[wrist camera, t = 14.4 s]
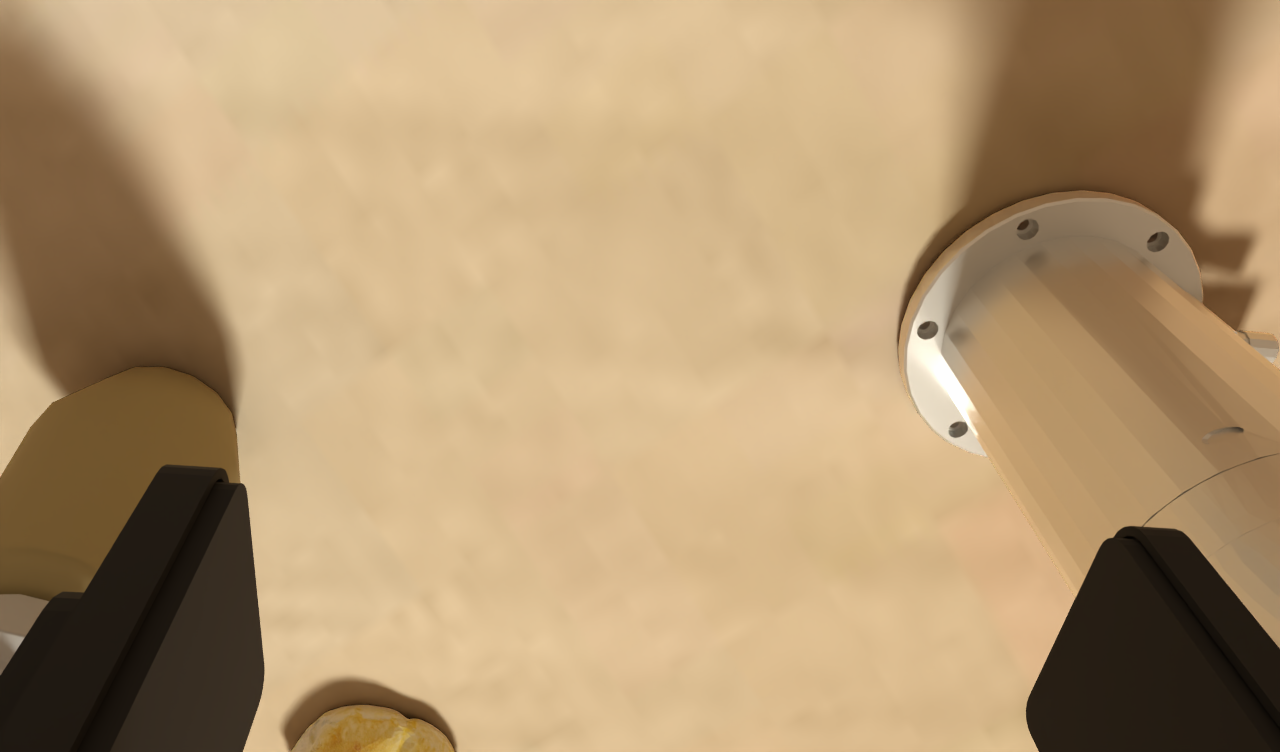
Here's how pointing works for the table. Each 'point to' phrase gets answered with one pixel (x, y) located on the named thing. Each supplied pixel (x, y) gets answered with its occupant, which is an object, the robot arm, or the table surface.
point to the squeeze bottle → (96, 481)
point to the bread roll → (371, 732)
